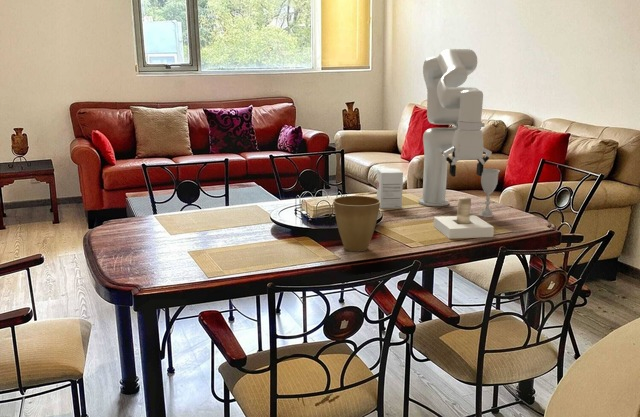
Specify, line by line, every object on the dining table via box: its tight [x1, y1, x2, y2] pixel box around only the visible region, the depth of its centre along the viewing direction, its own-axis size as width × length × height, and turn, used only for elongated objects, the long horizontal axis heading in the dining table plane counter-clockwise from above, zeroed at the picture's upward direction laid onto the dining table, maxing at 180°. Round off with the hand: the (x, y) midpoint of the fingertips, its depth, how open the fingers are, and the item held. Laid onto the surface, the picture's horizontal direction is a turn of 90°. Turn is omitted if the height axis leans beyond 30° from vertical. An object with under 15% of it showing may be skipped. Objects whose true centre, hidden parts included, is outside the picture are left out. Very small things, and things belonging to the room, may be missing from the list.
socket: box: [433, 214, 495, 240], centre depth 223 cm, size 16×16×4 cm
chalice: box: [479, 167, 501, 218], centre depth 243 cm, size 7×7×18 cm
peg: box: [456, 196, 472, 224], centre depth 222 cm, size 4×4×12 cm
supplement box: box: [376, 168, 404, 209], centre depth 257 cm, size 9×9×15 cm
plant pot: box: [333, 195, 380, 252], centre depth 201 cm, size 15×15×16 cm
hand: (465, 175), depth 219 cm, fingers open, 9 cm apart
